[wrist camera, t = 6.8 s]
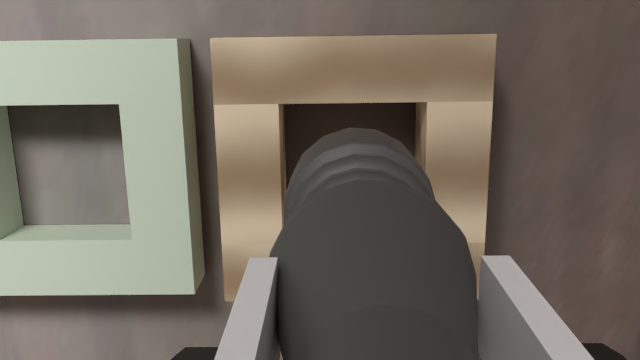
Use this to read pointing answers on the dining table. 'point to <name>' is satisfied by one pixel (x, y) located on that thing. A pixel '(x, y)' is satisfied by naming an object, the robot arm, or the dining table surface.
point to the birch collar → (347, 87)
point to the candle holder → (371, 258)
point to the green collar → (140, 168)
